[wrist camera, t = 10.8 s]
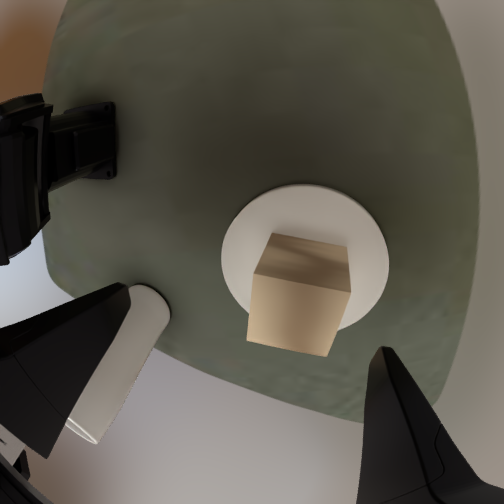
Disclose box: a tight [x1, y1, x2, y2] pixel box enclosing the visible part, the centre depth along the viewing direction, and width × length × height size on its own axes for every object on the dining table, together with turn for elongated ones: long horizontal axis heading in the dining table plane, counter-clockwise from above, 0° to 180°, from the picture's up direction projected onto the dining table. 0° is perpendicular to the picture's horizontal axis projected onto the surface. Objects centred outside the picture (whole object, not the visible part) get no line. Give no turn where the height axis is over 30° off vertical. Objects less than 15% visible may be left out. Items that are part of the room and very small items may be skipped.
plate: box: [221, 184, 389, 330], centre depth 19 cm, size 12×12×1 cm
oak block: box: [247, 233, 351, 357], centre depth 17 cm, size 5×5×5 cm
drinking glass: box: [65, 285, 170, 444], centre depth 20 cm, size 7×7×15 cm
